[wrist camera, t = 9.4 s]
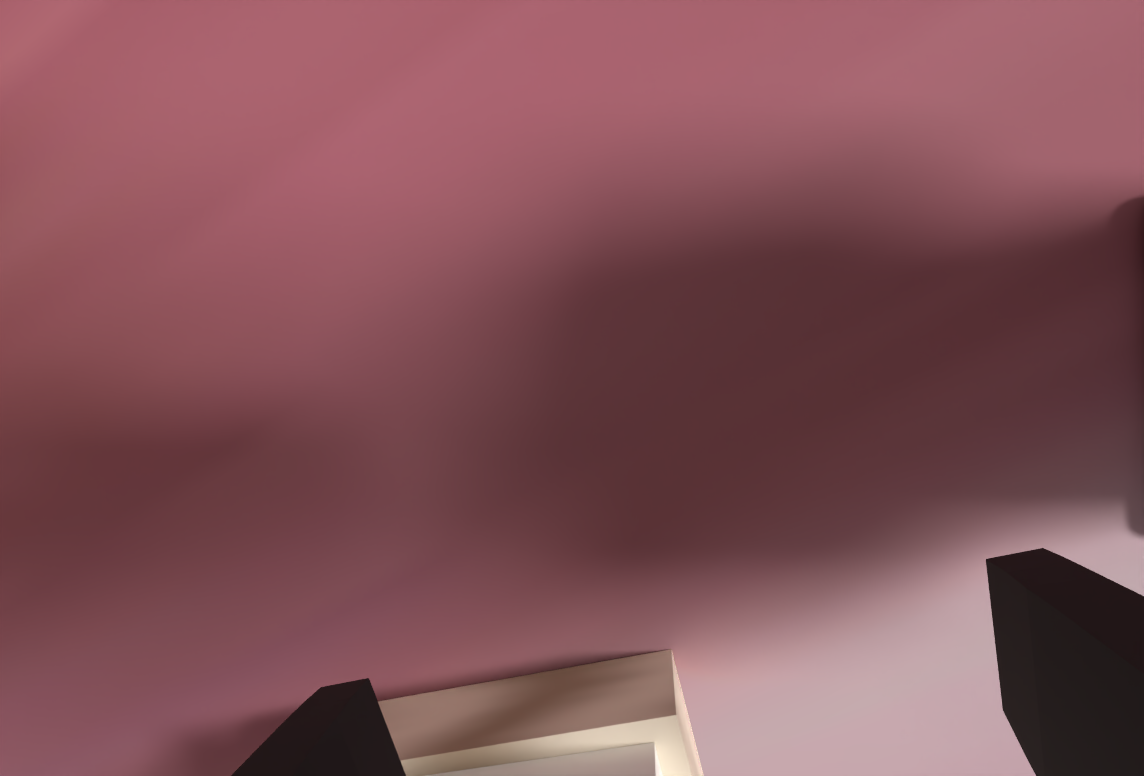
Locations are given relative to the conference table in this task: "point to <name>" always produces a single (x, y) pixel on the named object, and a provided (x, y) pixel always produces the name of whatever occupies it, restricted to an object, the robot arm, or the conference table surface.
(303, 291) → the conference table surface
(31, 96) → the conference table surface
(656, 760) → the top slab
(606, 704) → the base slab
